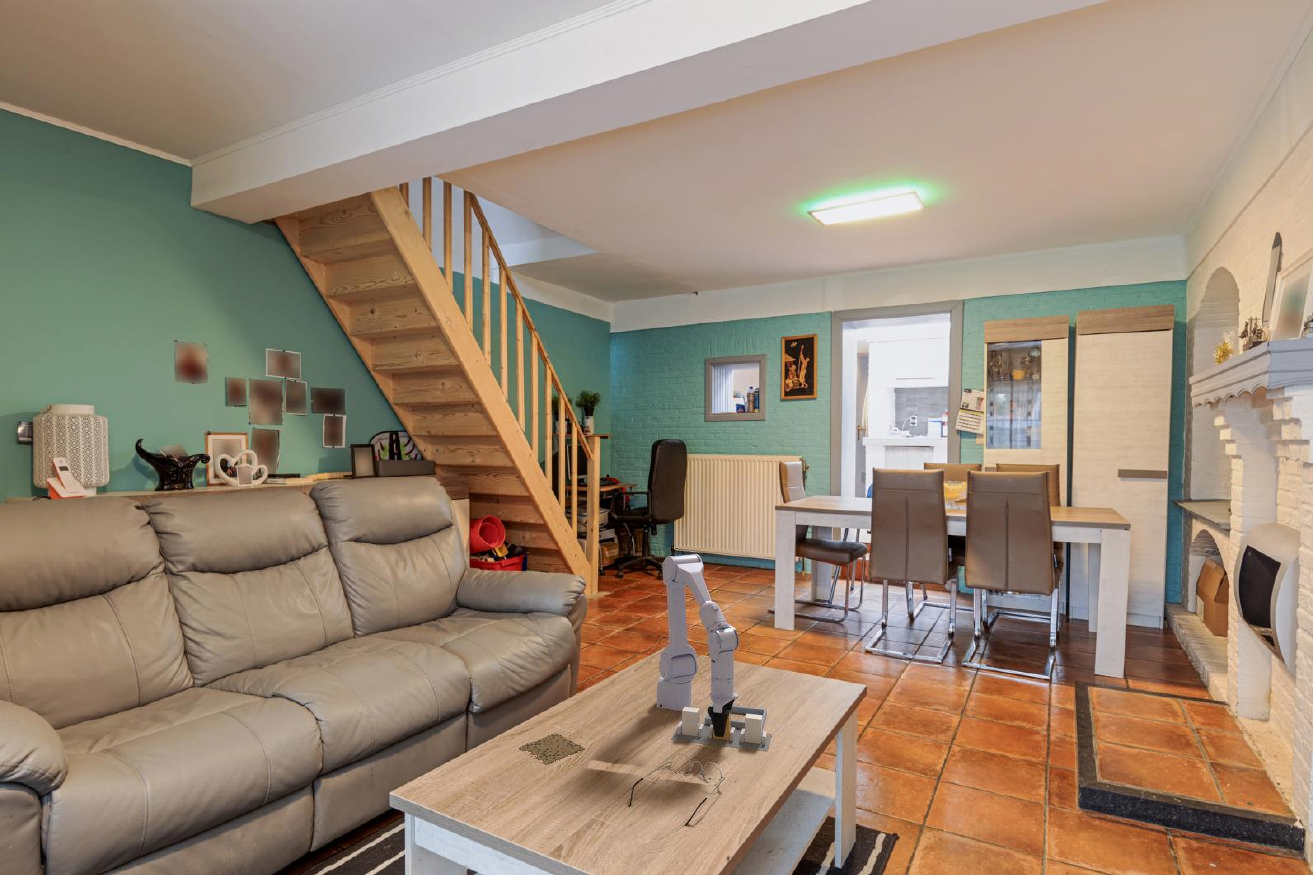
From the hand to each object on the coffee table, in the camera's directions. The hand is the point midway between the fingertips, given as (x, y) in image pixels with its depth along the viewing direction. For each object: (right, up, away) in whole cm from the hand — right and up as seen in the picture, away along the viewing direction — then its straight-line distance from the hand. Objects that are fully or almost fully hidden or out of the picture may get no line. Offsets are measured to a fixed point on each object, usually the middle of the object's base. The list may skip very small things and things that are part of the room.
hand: (721, 729), depth 174 cm
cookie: (-42, -4, -4) cm, 43 cm away
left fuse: (-8, -2, +2) cm, 8 cm away
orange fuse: (0, -2, 0) cm, 2 cm away
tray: (+5, -3, +11) cm, 12 cm away
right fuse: (+8, -2, -2) cm, 8 cm away
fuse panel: (0, -3, 0) cm, 3 cm away
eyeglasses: (-12, -4, -25) cm, 28 cm away
